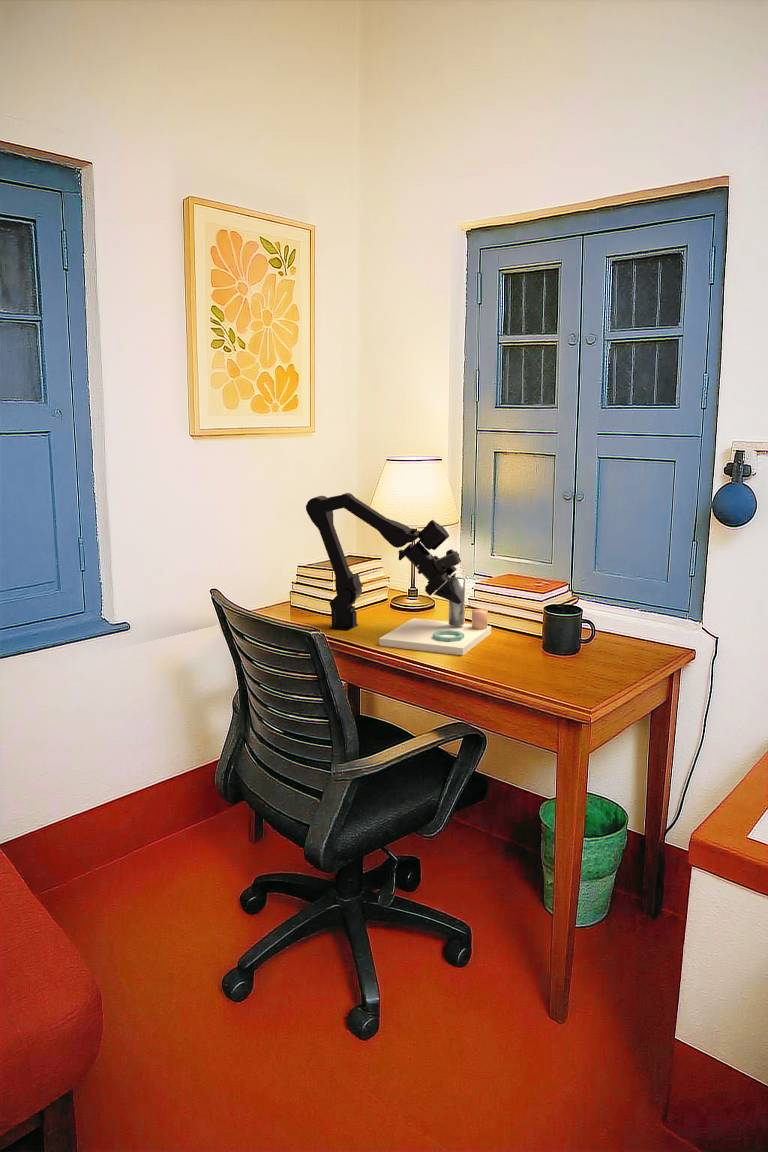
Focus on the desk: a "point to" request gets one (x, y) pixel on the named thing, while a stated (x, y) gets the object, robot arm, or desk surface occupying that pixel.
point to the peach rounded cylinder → (479, 619)
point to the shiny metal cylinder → (457, 609)
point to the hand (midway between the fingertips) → (461, 601)
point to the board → (434, 636)
